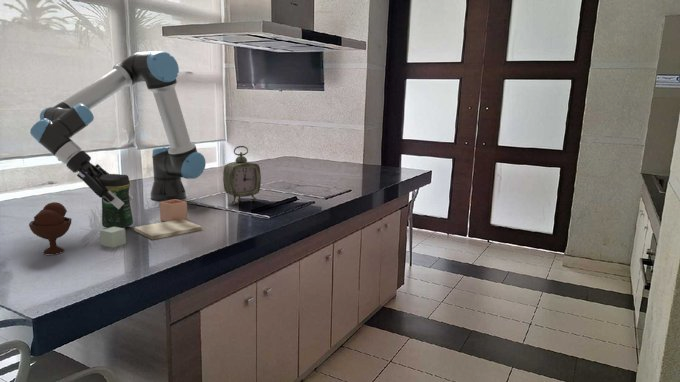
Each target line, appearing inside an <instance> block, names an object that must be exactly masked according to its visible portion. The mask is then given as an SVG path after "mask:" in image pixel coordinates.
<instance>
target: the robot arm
mask: <svg viewBox="0 0 680 382" xmlns="http://www.w3.org/2000/svg"><path fill="white" fill-rule="evenodd" d="M179 68H180V67H179V64H178V62H177V60H176V58H175V57H174V56H173V55H172V54H171V53H169V52H167V51H162V50H152V51H151V50H150V51H138V52H134V53H132V54H131V55H129V56H128V57H126V58H124V59H122V60H121V61H120V62H117V63H116V64H115V65H113V67H112V70H111V71H109V72H107V73H105V74H104V75H102V76H101V77H99V78H98V79H96V80H95V81H93V82H91V83H90V84H88V85H86V86H85V87H83V88H82V89H80V90H79V91H77V92H75V93H74V94H72V95H71V96H69V97H67V98H66V99H64V100H63V101H61V102H58V103H57V104H56V105H54V106H53V107H52V106H51V107H46V108H44V109H42V111H41V112H40V114H39V120H38V121H36V123H35V124H33V125H32V127H31V128H30V130H29V131H30V132H29V133H30V135H31V136H32V137H33V138H34V139H35V140H36V141H37V142H38V144H39V145H41V146H43V147H44V148H45V149H46V150H47V151H48V152H49V153H51V154H52V155H53V156H54V157H56V159H57V161H58V162H61V163H62V164H63V165H66V167H67V168H68V169H69V170H70V172H73V173H75V174H76V173H77V174H76V176H77V177H78V178H79V179H81V180H82V181H83V182H84V184H86V185H87V186H88V188H90V189H91V191H93V192H94V194H95V195H96V196H98V197H99V198H100V199H102V196H104V197H105V198H106V199H107V200H108V201H109V202H111V203H112V204H113V205H114V206H115V207H116V208H117V209H120V208H121V206H122V205H123V204H124V202H122V201H121V200H120V199H119V198H118V197H117V196H116V195H114V194H113V193H112V192H111V191H110V190H109V191H108V190H107V189H106V188H105V186H104V185H103V184H102V182H101V181H100V180H99V178H100V176H101V175H106V174H110V173H109V172H107V170H105V169H104V168H102V166H100V164H98V163H97V164H96V165H94V164H93V163H91V162H90V161H91V160H92V157H91V156H90V155H89V154H88V153H87V152H86V151H85V150H82V149H83V148H81V147H80V146H79V145H78V144H77V143H76V142H74V141H73V140H72V139H71V138H72V137H73V136H75V135H76V134H79V132H80V131H82V130H83V129H85V128H86V127H88V126H89V125H90V124H91V123H92V122H93V121H94V119H95V116H94V114H93V112H92V111H91V110H92V109H93V108H95V107H96V106H98V105H99V104H101V103H102V102H104V101H106V100H107V99H108V98H110V97H111V96H113V95H114V94H116V93H117V92H118V91H120V90H123V89H124V88H125V87H128V88H129V87H131V86H133V85H135V84H137V83H142V82H145V84H146V87H147V89H148V90H149V91H150V92H152V93H153V97H154V100H155V103H156V107H157V109H158V112H159V116H160V118H161V121H162V125H163V128H164V132H165V134H166V138H167V140H168V144H169V146H164V147H155V148H153V149H152V156H151V157H152V171H153V184H152V187H151V191H150V199H151V200H155V201H168V200H173V199H177V200H182V199H184V198H186V197H187V193H186V189H185V186H184V183H183V182H182V181H183V180H182V178H184V179H187V180H188V179H189V180H193V179H194V180H195V179H197V178H199V177H200V176H201V175H202V174H203V173H204V170H205V168H206V158H205V156H204V155H203V154H202V153H201V152H198V150H197V147H196V144H195V143H194V142H192V141H191V139H190V134H189V132H188V128H187V125H186V121H185V118H184V115H183V112H182V108H181V105H180V102H179V98H178V94H177V92H176V88H175V87H176V85H177V83H178V80H177V78H178V76H179V75H178V74H179V72H180V71H179ZM107 191H108V192H107ZM133 198H134V197H133V196H132V195H131V194H130V193H129V200H130V201H132V200H133Z"/></svg>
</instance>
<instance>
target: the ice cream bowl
mask: <svg viewBox="0 0 680 382" xmlns="http://www.w3.org/2000/svg"><path fill="white" fill-rule="evenodd" d="M67 212H68V211H67V208H66V207H65V206H64V205H63V204H62V203H60V202H55V201H54V202H53V201H52V202H49V203H47V204H45V206H44V207H43V209H41V210H39V212H38V213H37V214H36V215H34V216H33V220H32V221H30V222H29V223H28V227H29V229H30V231H31V232H32V233H33V234H34V235H36V236H37V237H39V238H41V239H43V240H48V242H49V247H47V248H46V249H44V250H43V253H45V254H54V255H57V254H56V253H59V254H61V253H60V252H62V253H64V252H65V249H64V247H60V246H57V239H59V238H61V237H63V236H64V235H66V233H68V231H69V229H70V228H71V224H72V218H71V217H67V216H66V214H67ZM63 251H64V252H63ZM43 253H42V254H43ZM45 254H44V255H45Z"/></svg>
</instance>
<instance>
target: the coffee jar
mask: <svg viewBox="0 0 680 382" xmlns="http://www.w3.org/2000/svg"><path fill="white" fill-rule="evenodd" d="M99 180H100V181H101V182H102V184H103V185H104V186H105V188H106V189H107V190H108V191H109V190H110V191H111V192H112V193H113V194H114V195H116V196H117V197H118V198H119V199H120V200H121V201H122V202H124V204H123V205H122V206H121V208H120V209H117V208H116V207H115V206H114V205H113V204H112V203H111V202H109V201H108V200H107V199H106V198H105V197H104V196H102V197H101V225H102V226H103V227H104V228H110V227H119V228H129V227H131V226H132V225H133V223H134V221H133V220H134V219H133V213H132V207H131V200H129V194H130V186H131V183H130V178H129V175H128V174H121V173H120V174H117V173H109V174H106V175H101V176H100V178H99ZM108 191H107V192H108Z"/></svg>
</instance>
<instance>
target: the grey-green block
mask: <svg viewBox="0 0 680 382" xmlns="http://www.w3.org/2000/svg"><path fill="white" fill-rule="evenodd" d="M99 233H100V242H101V246H102V245H104V246H103V247H107V246H108V247H107V248H111V247H114V248H117V247H119V246H123V245H125V244H127V239H126V237H127V236H126V228H125V227H123V228H119V227H110V228H108V227H106V228H103V229H101V230H100V232H99ZM116 246H117V247H116Z"/></svg>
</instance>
